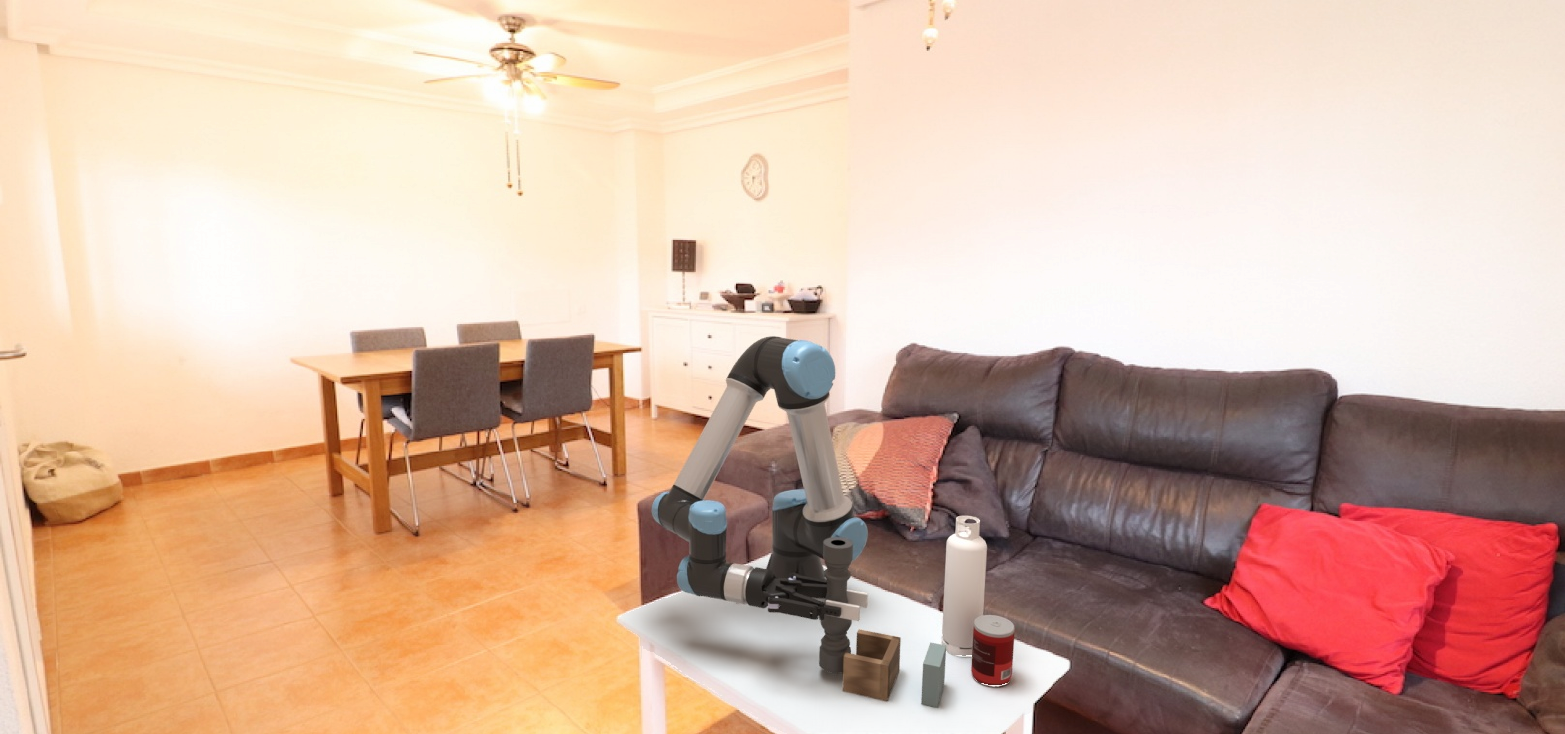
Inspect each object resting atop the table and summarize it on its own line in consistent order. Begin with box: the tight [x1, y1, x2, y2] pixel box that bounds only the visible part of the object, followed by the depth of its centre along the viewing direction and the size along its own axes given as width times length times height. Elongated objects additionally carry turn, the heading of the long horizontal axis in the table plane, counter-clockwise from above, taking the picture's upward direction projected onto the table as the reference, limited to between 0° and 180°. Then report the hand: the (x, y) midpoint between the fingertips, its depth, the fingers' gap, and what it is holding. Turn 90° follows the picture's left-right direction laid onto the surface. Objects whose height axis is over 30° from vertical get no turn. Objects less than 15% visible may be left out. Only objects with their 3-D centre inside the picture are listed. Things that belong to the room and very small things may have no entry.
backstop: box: [920, 642, 947, 709], centre depth 137 cm, size 3×8×8 cm, turn 159°
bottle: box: [941, 515, 988, 656], centre depth 153 cm, size 8×8×28 cm
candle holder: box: [818, 537, 853, 674], centre depth 142 cm, size 6×6×25 cm
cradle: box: [842, 628, 902, 702], centre depth 141 cm, size 8×11×7 cm
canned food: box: [970, 614, 1016, 685], centre depth 143 cm, size 8×8×11 cm
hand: (862, 606), depth 140 cm, fingers closed on candle holder, 5 cm apart
